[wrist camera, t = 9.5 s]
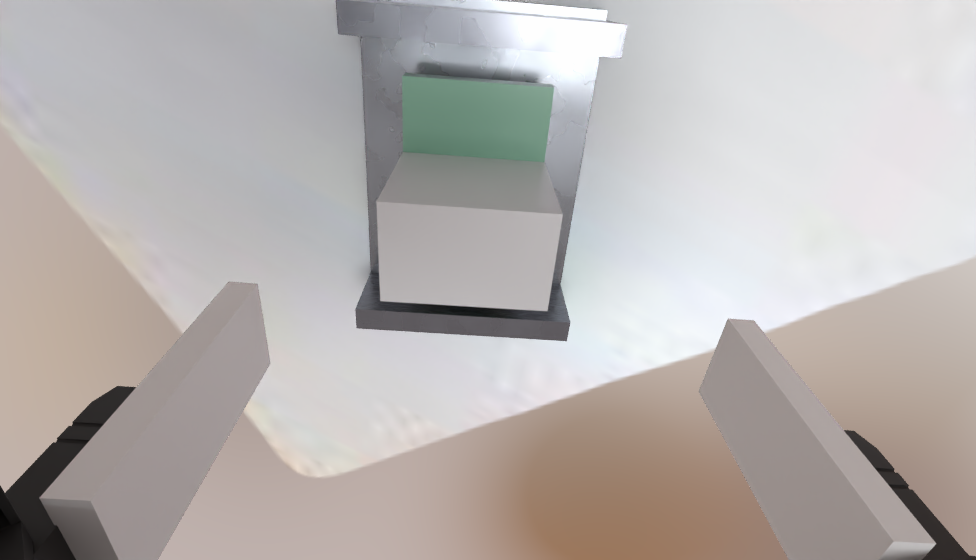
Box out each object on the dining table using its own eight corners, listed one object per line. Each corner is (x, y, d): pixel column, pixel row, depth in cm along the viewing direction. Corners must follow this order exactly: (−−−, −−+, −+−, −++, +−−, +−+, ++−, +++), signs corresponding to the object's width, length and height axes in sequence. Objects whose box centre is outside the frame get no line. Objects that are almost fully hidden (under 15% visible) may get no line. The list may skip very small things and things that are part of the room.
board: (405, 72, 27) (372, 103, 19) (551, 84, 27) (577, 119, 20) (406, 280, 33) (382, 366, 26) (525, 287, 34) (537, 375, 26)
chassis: (362, -12, 29) (335, -14, 23) (603, 10, 29) (629, 12, 24) (374, 288, 38) (357, 334, 33) (554, 300, 39) (565, 347, 34)
